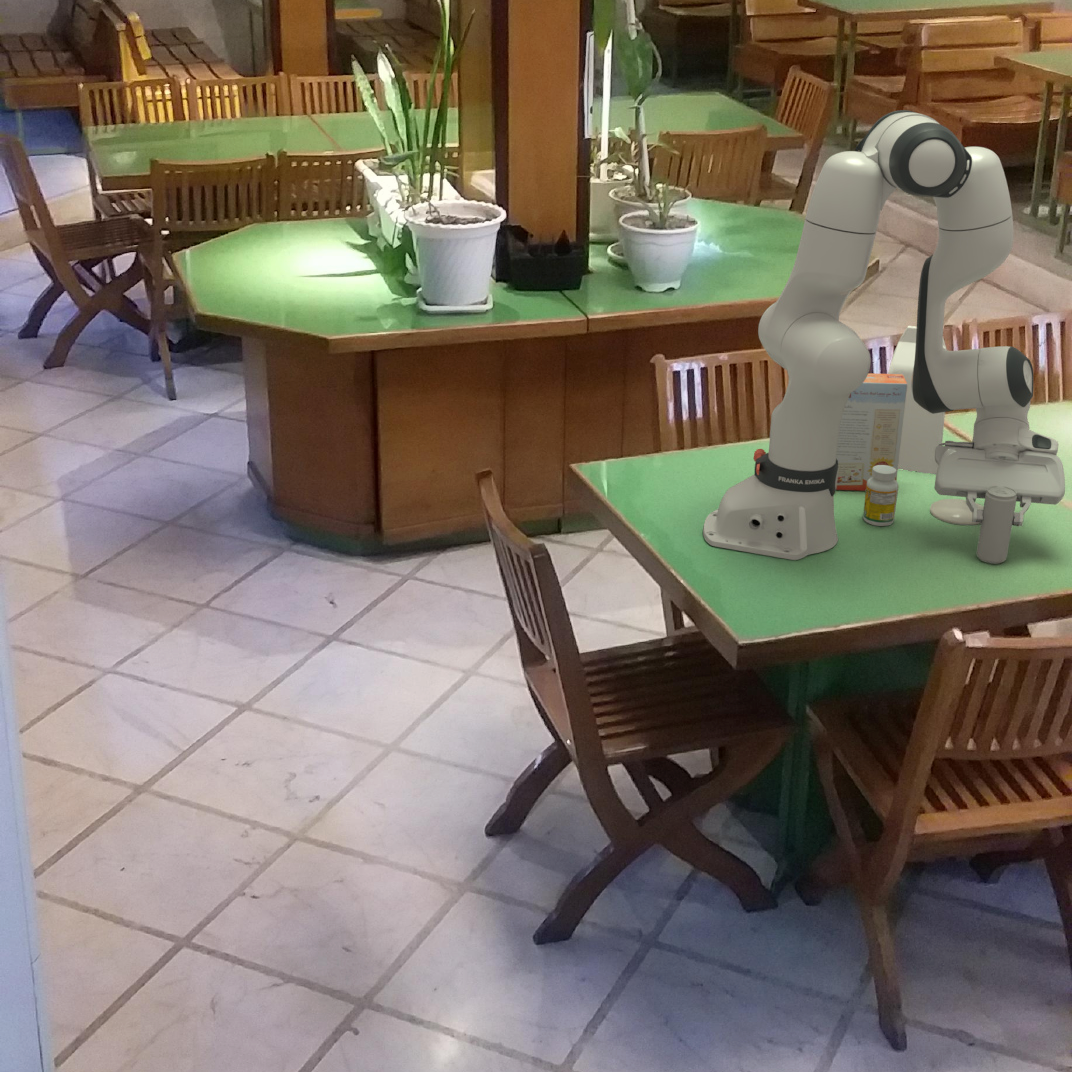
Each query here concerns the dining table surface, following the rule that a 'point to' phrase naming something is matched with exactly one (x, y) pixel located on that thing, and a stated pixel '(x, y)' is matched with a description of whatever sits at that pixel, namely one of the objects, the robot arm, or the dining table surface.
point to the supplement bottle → (881, 496)
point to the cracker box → (870, 429)
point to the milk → (916, 414)
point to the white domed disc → (953, 511)
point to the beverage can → (996, 524)
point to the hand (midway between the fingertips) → (997, 523)
